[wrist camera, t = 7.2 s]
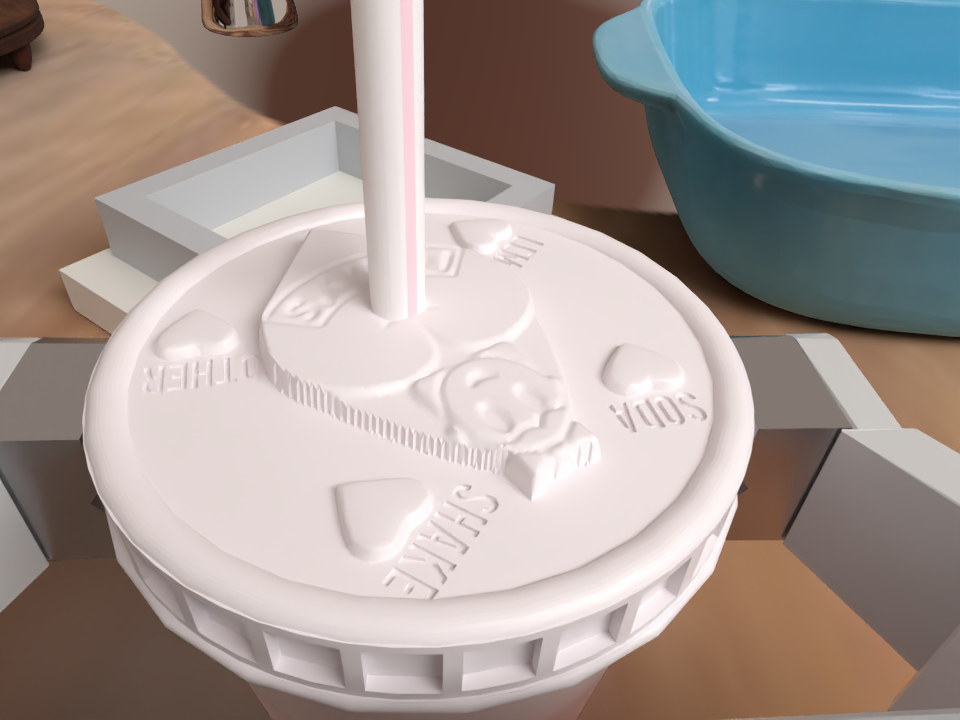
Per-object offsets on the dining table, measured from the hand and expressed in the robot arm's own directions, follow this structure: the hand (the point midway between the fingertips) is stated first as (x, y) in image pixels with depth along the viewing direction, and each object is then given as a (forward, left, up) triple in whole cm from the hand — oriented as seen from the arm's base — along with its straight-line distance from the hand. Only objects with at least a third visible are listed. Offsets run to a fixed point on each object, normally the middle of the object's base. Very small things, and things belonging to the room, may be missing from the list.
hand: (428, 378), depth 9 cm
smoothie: (+1, -1, -9) cm, 9 cm away
